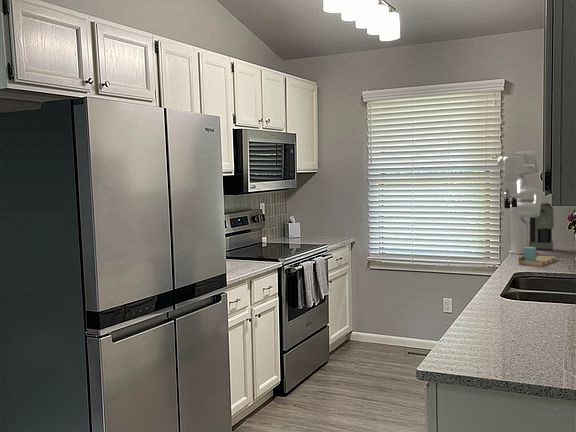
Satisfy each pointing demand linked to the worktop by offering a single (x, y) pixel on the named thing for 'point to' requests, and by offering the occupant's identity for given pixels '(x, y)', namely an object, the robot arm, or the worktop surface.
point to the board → (537, 260)
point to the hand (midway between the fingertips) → (510, 207)
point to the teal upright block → (530, 253)
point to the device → (542, 228)
